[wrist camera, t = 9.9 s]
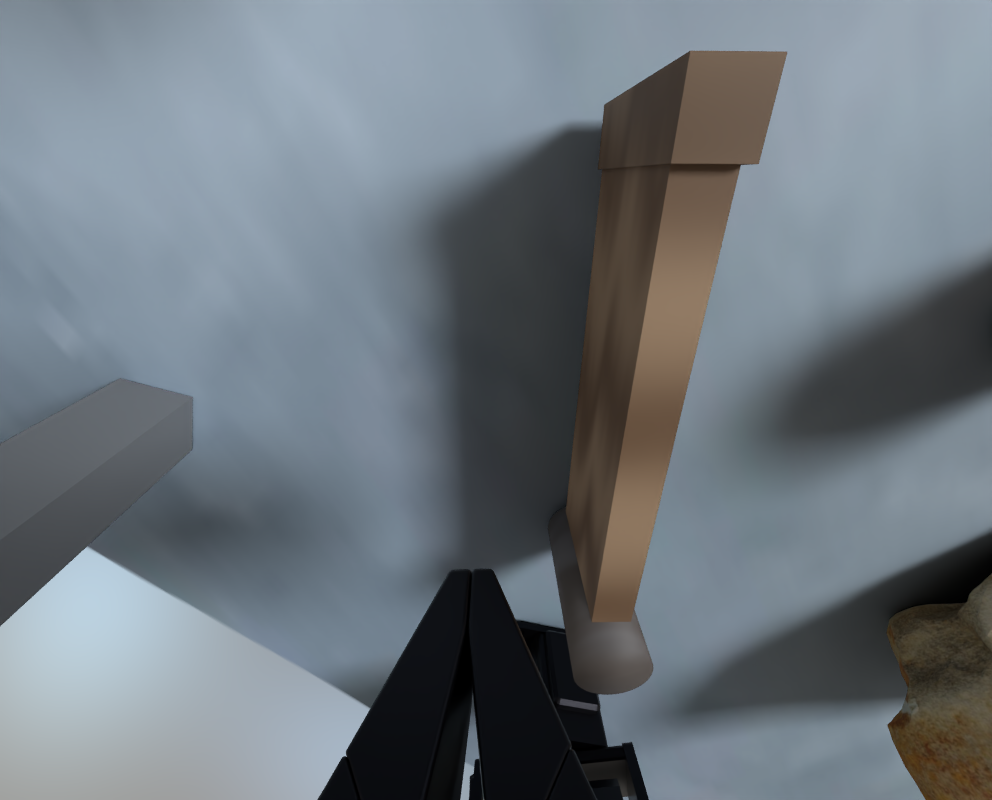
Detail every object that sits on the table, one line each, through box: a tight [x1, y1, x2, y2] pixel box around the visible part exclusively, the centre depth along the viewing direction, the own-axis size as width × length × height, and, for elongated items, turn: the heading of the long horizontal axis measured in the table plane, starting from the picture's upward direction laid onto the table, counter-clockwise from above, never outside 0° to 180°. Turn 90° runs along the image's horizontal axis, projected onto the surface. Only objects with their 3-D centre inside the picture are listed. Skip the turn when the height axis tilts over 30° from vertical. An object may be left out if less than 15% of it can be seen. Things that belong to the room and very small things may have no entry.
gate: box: [548, 51, 787, 695], centre depth 15 cm, size 20×3×8 cm, turn 0°
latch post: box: [0, 378, 193, 626], centre depth 15 cm, size 3×3×10 cm
